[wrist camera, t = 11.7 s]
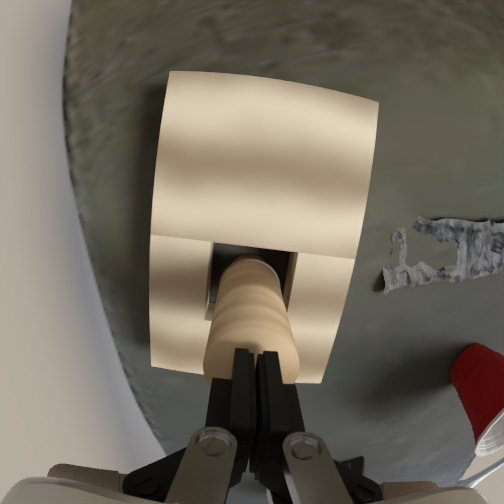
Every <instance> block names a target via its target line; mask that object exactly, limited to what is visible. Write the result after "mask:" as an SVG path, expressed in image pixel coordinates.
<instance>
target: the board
mask: <svg viewBox="0 0 504 504" xmlns="http://www.w3.org/2000/svg"><path fill="white" fill-rule="evenodd" d="M378 107H379V102H376V101H372V100H369V99H365V98H362V97H358V96H354V95H351V94H347V93H343V92H339V91H334V90H330V89H326V88H321V87H316V86H311V85H306V84H301V83H296V82H290V81H284V80H278V79H271V78H264V77H256V76H247V75H238V74H227V73H213V72H192V71H170V74H169V79H168V85H167V90H166V96H165V102H164V108H163V115H162V121H161V128H160V136H159V143H158V151H157V160H156V169H155V180H154V191H153V203H152V218H151V237H150V267H149V317H150V347H151V365H152V366H155V367H160V368H165V369H171V370H177V371H183V372H190V373H197V374H204V372H203V360H204V355H205V350H206V346H207V341H208V336H209V332H210V327H211V322H212V318H213V313H214V309H215V304H216V303H209V293H210V281H211V270H212V260H213V249H214V242H217V243H225V244H233V245H242V246H250V247H258V248H266V249H275V250H283V251H290V256H289V262H288V268H287V274H286V279H285V285H284V290H283V296H282V297H283V301H284V304H285V308H286V312H287V315H288V319H289V323H290V327H291V330H292V334H293V338H294V342H295V346H296V349H297V353H298V357H299V362H300V369H299V374H298V376H297V379H296V380H295V383H321V381H322V378H323V375H324V372H325V368H326V365H327V362H328V359H329V356H330V353H331V349H332V346H333V343H334V339H335V336H336V333H337V329H338V326H339V322H340V318H341V315H342V311H343V307H344V304H345V300H346V296H347V292H348V288H349V284H350V280H351V275H352V271H353V267H354V262H355V258H356V253H357V249H358V244H359V239H360V234H361V229H362V224H363V218H364V213H365V207H366V202H367V196H368V189H369V183H370V176H371V169H372V162H373V155H374V146H375V138H376V128H377V118H378Z"/></svg>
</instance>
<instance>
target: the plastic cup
mask: <svg viewBox="0 0 504 504" xmlns="http://www.w3.org/2000/svg"><path fill="white" fill-rule="evenodd" d="M450 377H451V381H452V383H453V385H454V387H455V389H456V391H457V392H458V394H459V395H458V396H459V398H460V400H461V402H462V404H463V407H464V409H465V411H466V413H467V416H468V418H469V420H470V423H471V425H472V427H473V428H472V429H473V432H474V438H475V443H476V444H475V447H474V450H475V453H476V456H486V455H488V454H491V453H493V452H496V451H497V450H499V449H501V448H502V447H504V356H503V355H501V354H500V353H498V352H494V351H493V350H491V349H489V348H488V347H486V346H484V345H481V344H479V343H477V344H472V345H471V346H469V347H467V348H466V349H465V350H464V351H463V352H462V353H461V354H460V355H459V356H458V358H457V359H456V360H455V362H454V364H453V366H452V368H451V372H450Z"/></svg>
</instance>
